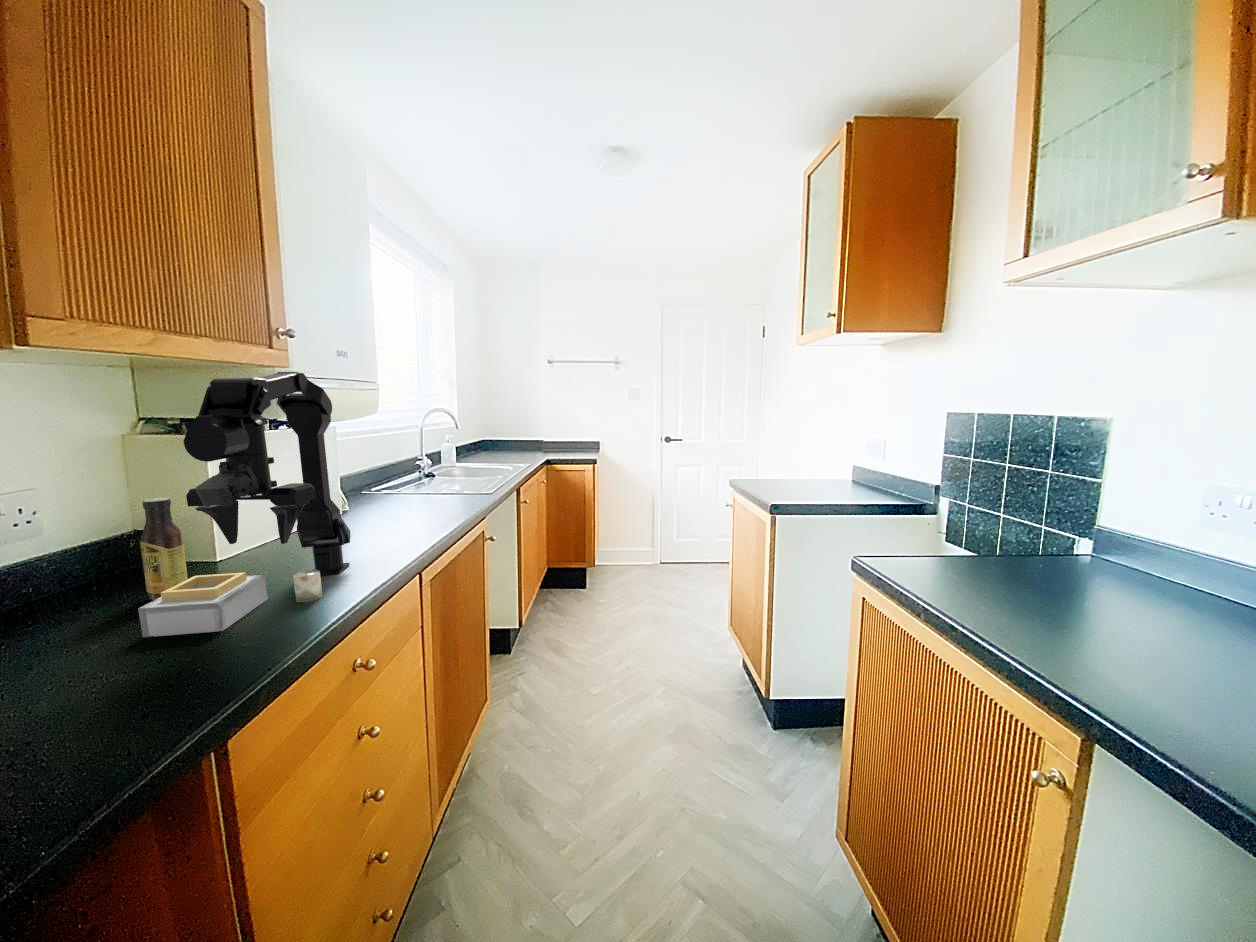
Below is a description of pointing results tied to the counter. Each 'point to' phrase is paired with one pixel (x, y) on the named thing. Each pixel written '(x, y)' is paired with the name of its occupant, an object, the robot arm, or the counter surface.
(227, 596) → the square frame box
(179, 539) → the sauce bottle
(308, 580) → the silver metal can
